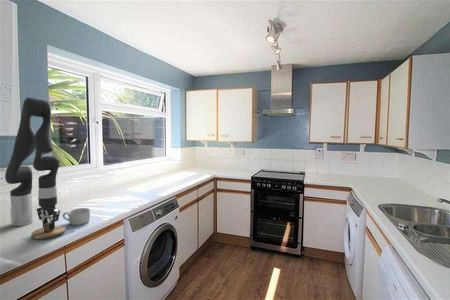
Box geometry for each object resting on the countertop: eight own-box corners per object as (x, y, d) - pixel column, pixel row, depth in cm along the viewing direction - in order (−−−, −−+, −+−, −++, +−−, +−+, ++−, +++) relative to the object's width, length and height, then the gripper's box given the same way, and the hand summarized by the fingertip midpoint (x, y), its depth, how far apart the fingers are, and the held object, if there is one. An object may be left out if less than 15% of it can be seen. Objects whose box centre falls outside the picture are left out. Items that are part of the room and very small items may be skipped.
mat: (21, 240, 115) (21, 239, 115) (54, 228, 130) (54, 226, 130) (44, 246, 110) (44, 244, 110) (75, 232, 125) (75, 230, 125)
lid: (24, 236, 116) (23, 226, 115) (52, 225, 129) (52, 216, 129) (44, 240, 111) (44, 230, 111) (72, 229, 125) (71, 220, 124)
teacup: (94, 220, 143) (93, 207, 142) (83, 228, 132) (83, 214, 131) (70, 220, 142) (70, 207, 142) (58, 228, 131) (58, 214, 131)
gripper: (29, 196, 117) (31, 229, 119) (50, 199, 113) (51, 233, 114) (45, 192, 125) (46, 224, 126) (65, 195, 120) (66, 228, 121)
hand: (48, 228), depth 120 cm, fingers closed on lid, 4 cm apart
